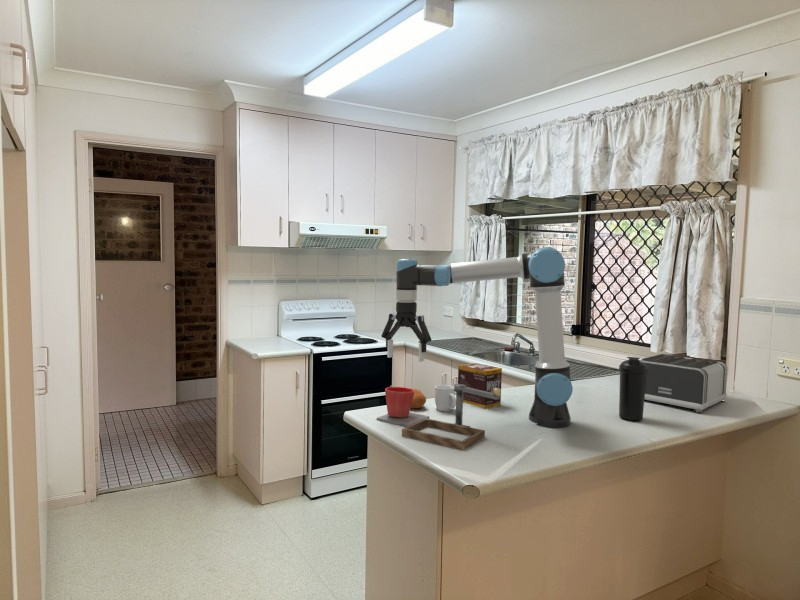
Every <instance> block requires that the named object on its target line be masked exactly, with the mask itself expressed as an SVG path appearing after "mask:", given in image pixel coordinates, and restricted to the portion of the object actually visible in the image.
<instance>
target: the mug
mask: <svg viewBox="0 0 800 600" xmlns="http://www.w3.org/2000/svg"><path fill="white" fill-rule="evenodd" d="M455 395H456V392H455V391H454V385H449V384H438V385H435V386H434V401H435V403H434V404H435V406H436V408H437V410H438V411H439V412H450V411H451V410H452V409H456V396H455Z"/></svg>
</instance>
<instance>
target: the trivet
mask: <svg viewBox="0 0 800 600" xmlns="http://www.w3.org/2000/svg"><path fill="white" fill-rule="evenodd" d="M425 418H427V419H430V416H429V415H425V414H419V413H414V412H411V411H410V412H409V416H408V417H392V416H389V415H388V413H386V414H384V415H381V416H377V417H376V421H378V420H379V422H383V421H384V422H383V423H388V424H393V425H398V426H401V427H407V426H409V425H411V424H414V423H416V422H418V421H421V420H423V419H425Z"/></svg>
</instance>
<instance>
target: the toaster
mask: <svg viewBox="0 0 800 600" xmlns="http://www.w3.org/2000/svg"><path fill="white" fill-rule="evenodd" d="M639 360H640V361H641V362H643V363H644V364H645V365H646V366H647V368H648V372H647V374H646V386H645V398H644V401H645V400H646V401H650V402H655V403H662V404H666V405H667V404H668V405H673V406H678V407H681V408H687V409H693V410H694V412H695V411H696V412H695V413H698V412H702V413H703V410H706V409H708V408H710V407H711V406H713V405H715V404H718V403H720V402H721V401H722V400H724V399H725V400H726V399H727V396H728V394H727V382H728V381H727V380H728V366H727V365H726V364H725V363H724V362H723V361H717V360H712V359H704V358H703V359H702V358H695V357H687V356H686V357H685V356H681V355H680V356H679V355H672V354H671V355H670V354H667V353H666V354H663V353H661V354H657V355H656V354H655V355H651V356H648V357H644V358H641V359H639Z"/></svg>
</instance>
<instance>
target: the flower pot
mask: <svg viewBox="0 0 800 600" xmlns="http://www.w3.org/2000/svg"><path fill="white" fill-rule="evenodd" d="M410 388H411V387H403V386H402V387H401V386H389V387H386V388H384V393H385V403H386V409H387V414H388V415H389V416H392V417H408V416H409V412H410V413H411V409H412V408H411V405H412V400H413V396H414V390H413V389H414V388H412V389H410Z"/></svg>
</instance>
